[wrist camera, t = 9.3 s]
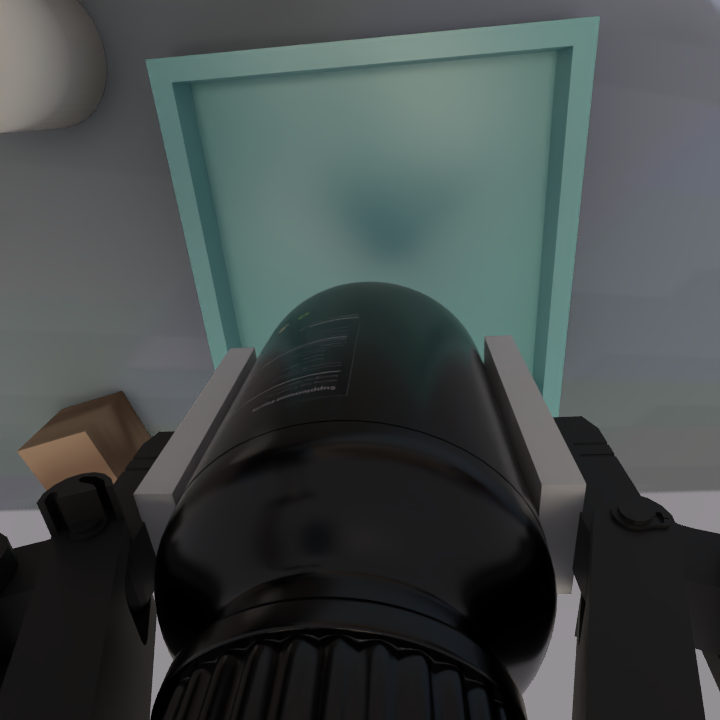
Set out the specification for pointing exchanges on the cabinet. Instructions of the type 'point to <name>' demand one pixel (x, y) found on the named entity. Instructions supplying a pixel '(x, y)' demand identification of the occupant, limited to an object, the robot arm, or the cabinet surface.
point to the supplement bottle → (357, 531)
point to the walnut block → (86, 441)
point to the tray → (386, 177)
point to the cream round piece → (48, 65)
